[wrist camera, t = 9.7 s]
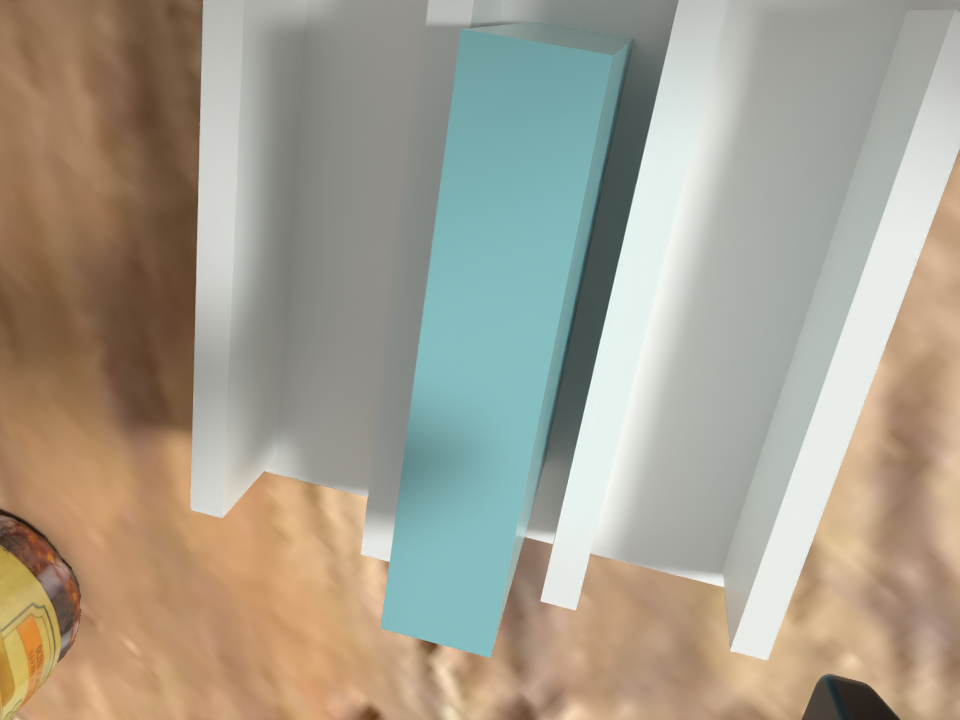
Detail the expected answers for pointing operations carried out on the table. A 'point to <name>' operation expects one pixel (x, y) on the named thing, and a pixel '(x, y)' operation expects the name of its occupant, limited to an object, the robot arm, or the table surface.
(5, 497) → the table surface
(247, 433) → the dish rack
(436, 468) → the light blue block
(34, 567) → the sauce bottle
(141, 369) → the table surface
